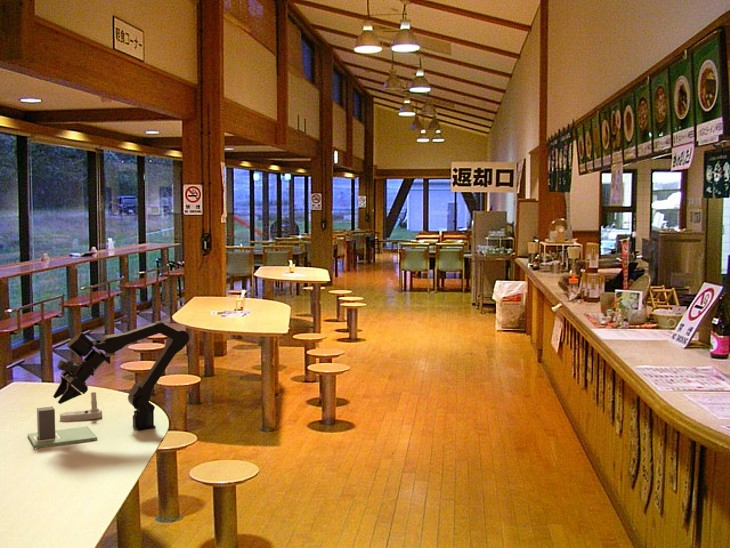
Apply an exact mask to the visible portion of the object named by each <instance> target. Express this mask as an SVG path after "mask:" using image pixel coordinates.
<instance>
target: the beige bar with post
mask: <svg viewBox="0 0 730 548" xmlns="http://www.w3.org/2000/svg"><path fill="white" fill-rule="evenodd" d="M90 397H91V398H90V399H91V401H90V402H91V403H90V405H91V408H90V409H87V410H86V409H85V410H76V411H66V412H61V413H60V414H59V420H60V421H61V422H73V421H74V422H75V421H83V420H84V421H85V420H86V421H87V420H95V419H101V418H102V417H103V410H102V409H99V408H98V400H97V392H95V391H94V392H93V391H92V392H91V393H90Z"/></svg>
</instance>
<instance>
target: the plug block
mask: <svg viewBox="0 0 730 548" xmlns="http://www.w3.org/2000/svg"><path fill="white" fill-rule="evenodd" d="M55 412H56V410H55V408H54V406H45V407H37V408H36V422H37V423H36V425H37V433H38V438H39V440H45V439H53V438H55V430H56V415H55V414H56V413H55Z"/></svg>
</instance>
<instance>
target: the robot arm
mask: <svg viewBox="0 0 730 548" xmlns="http://www.w3.org/2000/svg"><path fill="white" fill-rule="evenodd" d="M158 334H161V335H163V336H164V337H167V338H166V341H165V345H164V348H163V349H162V351H161V352H160V354H159V356H158V358H156V360H155V361H154V364H153V365H152V366H151V368H150V369H149V371H148V373H147V374H146V376H145V377H144V379H143V380H142V381H141V382H140V383H136V382H135V383H134V384H133V385H132V387H131V389H130V390H129V391H128V392H127V393H128V395H127V401H128V403H129V404H130V405H131V406H132V407H133V408H134V409H133V415H132V427H133V429H136V430H137V431H143V430H150V429H155V428H156V425H155V419H154V418H155V415H154V414H155V413H154V411H155V407H156V406H155V405H154V404H152V403H151V402H150V400H151V398H152V394H153V391H154V390H153V389H154V387H155V386H156V384H157V383H158V381H159V379H161V377H162V375H163V373H164V372H165V371H166V369H167V368H168V366H169V364H170V363H171V362H172V360H173V358H174V357H175V356H176V355H177V354H178V353H179V352H180V351H182V350H183V349H184V348H185V347H186V346H187V344H188V343H189V341H190V336H189V333H188V332H187V331H185V330H183V329H180V328H173V327H171V326H168V325H166V324H165V323H164V322H162V321H159V320H156V321H154V322H152V323H150V324H147V325H143V326H141V327H138V328H135V329H132V330H129V331H126V332H122V333H111V334H106V335H103V336H102V337H101V338H100V339H95V340H90V339H89V337H87V336H86V335H85V334H84V333H83V332H82V331H81V332H79V334H76V335H75V336H74V337H73V338H71V339H70V340H69V341H68V343H67V345H66V347H67V348H68V349H69V350H70V351H71V352H73V353H74V354H75V355H76V356H78V358H80V357H81V358H82V357H84V358H83V359H82V360H81V361H77V362H74V361H72V360H69V359H68V360H65V359H62V358H60V359H59V361H58V363H57V365H56V368H57V369H58V370H60V371H62V372H61V373H60V376H59V377H60V383H59V385H58V386H57V389H56V390H55V393H54V394H53V395H52V397H53V398H54V399H57V398H59V399H58V400H57V404H59V405H61V404H64V403H66V402H68V401H70V400H72V399H74V398H77V397H79V396H82V395H85V394H86V393H87V392H88V390H89V386H88V385H87V383H86V382H87V381H88V379H89V378H90V377H93V376H94V375H95V372H96V371H97V370H98V369H99V368H100V367H101V366H102V364H103V363H104V362H106V363H107V364H108V365H111V354H115V353H117V352H118V351H120V350H121V349H124V348H125V347H126V346H128V345H129V344H131V343H135V342H137V341H141V340H144V339H146V338H150V337H153V336H156V335H158ZM95 349H97V350H98V351H97V350H95ZM104 352H105V353H106V354H109V355H106V354H105V353H104Z"/></svg>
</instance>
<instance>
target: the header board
mask: <svg viewBox="0 0 730 548" xmlns="http://www.w3.org/2000/svg"><path fill="white" fill-rule="evenodd" d="M27 439H28V440H29V442H30V441H31V442H30V443H31V445H32V446H34V447H33V448H34V449H35V448H36V449H42V448H43V449H44V448H50V446H51V447H57V446H65V445H71V444H78V443H79V442H80V443H86V442H85V441H87V442H92V441H91V440H94V441H98V436H97V435H96V434H95V433H94V431H92V429H91V428H90V427H89V426H88V425H87V426H86V425H85V426H79V427H78V426H77V427H71V428H63V429H55V438H53V439H45V440H39V438H38V432H31V433H27ZM80 443H79V444H80Z"/></svg>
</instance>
